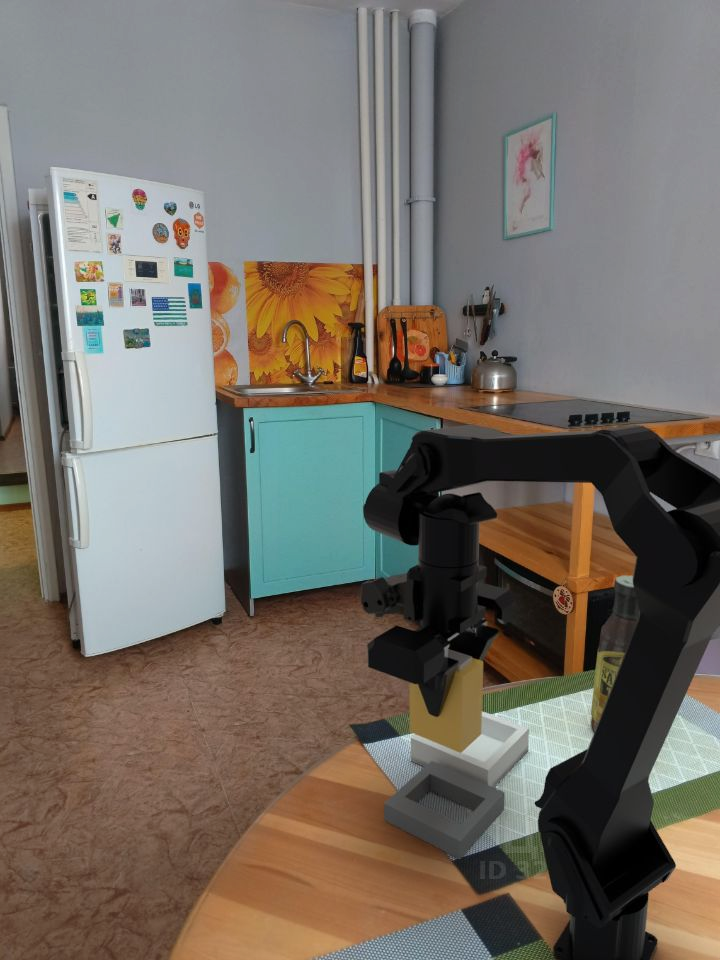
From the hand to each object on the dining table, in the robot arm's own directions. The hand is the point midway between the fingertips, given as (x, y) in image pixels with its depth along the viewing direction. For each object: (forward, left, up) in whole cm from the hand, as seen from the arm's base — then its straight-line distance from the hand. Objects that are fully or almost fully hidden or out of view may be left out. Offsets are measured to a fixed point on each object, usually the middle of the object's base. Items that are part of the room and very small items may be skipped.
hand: (445, 705), depth 72 cm
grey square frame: (0, 0, -12) cm, 13 cm away
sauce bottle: (+26, -9, -13) cm, 30 cm away
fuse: (0, 0, -3) cm, 3 cm away
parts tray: (+10, +3, -12) cm, 17 cm away
